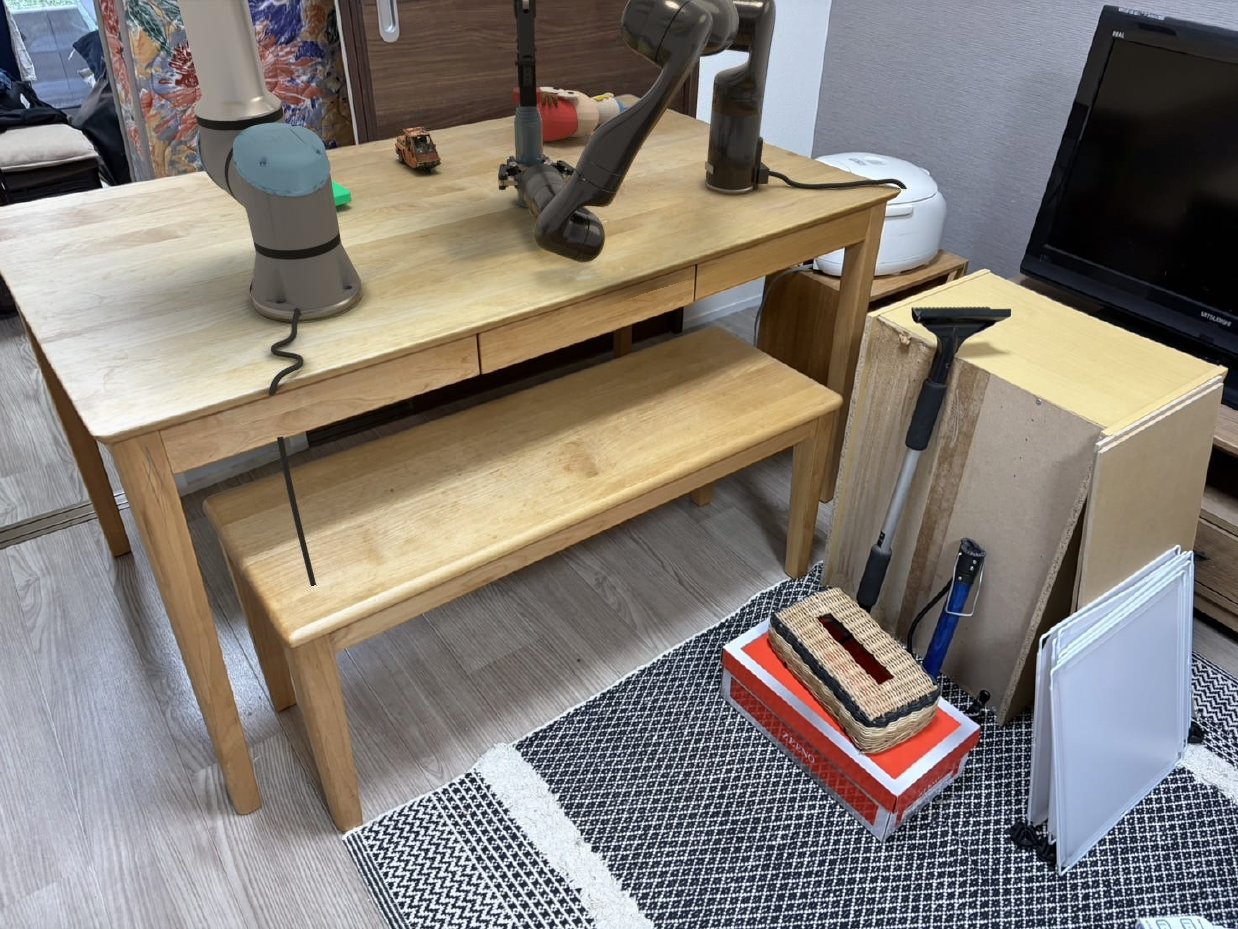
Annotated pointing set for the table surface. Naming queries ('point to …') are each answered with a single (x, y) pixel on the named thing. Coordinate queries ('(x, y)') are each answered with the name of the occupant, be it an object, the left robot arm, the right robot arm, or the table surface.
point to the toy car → (417, 149)
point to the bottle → (528, 139)
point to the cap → (517, 95)
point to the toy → (574, 112)
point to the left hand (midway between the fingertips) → (527, 99)
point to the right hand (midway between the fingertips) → (526, 160)
